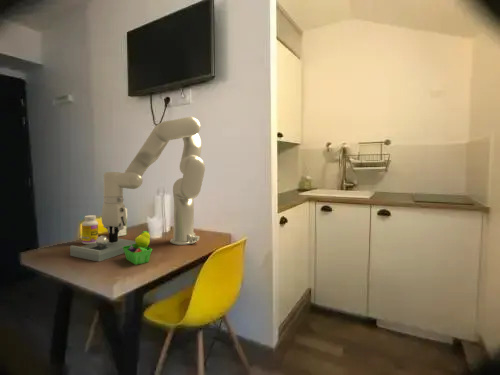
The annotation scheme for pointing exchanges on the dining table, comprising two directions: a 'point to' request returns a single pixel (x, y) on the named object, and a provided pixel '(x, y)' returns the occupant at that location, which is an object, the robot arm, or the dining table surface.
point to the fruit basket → (139, 249)
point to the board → (100, 250)
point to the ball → (102, 241)
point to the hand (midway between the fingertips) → (113, 241)
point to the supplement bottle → (89, 230)
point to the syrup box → (124, 231)
